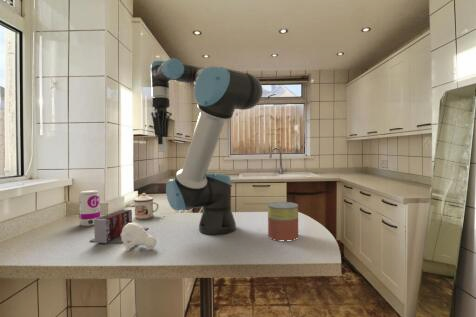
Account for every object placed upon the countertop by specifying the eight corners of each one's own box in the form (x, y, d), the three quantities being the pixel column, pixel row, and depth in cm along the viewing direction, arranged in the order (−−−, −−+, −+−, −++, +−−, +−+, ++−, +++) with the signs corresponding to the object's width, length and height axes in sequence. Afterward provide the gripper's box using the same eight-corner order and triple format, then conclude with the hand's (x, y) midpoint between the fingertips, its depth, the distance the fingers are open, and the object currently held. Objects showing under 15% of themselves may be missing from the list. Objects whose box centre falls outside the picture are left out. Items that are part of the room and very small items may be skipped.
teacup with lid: (131, 219, 130) (130, 195, 129) (139, 214, 139) (138, 192, 139) (155, 219, 129) (154, 195, 128) (162, 214, 138) (161, 192, 138)
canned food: (305, 238, 98) (304, 205, 98) (281, 244, 92) (280, 209, 92) (284, 230, 108) (284, 200, 108) (262, 235, 102) (261, 204, 102)
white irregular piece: (131, 219, 94) (161, 224, 91) (130, 243, 95) (160, 249, 92) (119, 224, 88) (150, 230, 85) (117, 249, 89) (149, 256, 85)
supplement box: (105, 219, 94) (132, 209, 109) (93, 219, 95) (121, 208, 110) (106, 244, 94) (133, 230, 110) (94, 243, 95) (122, 229, 111)
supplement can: (104, 222, 123) (103, 190, 123) (85, 227, 116) (84, 193, 116) (94, 220, 128) (93, 189, 127) (76, 224, 121) (75, 191, 120)
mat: (148, 228, 113) (148, 227, 113) (121, 243, 95) (121, 242, 95) (121, 227, 115) (121, 226, 115) (89, 241, 98) (89, 240, 98)
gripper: (159, 101, 125) (161, 151, 126) (144, 95, 112) (146, 152, 113) (174, 100, 124) (176, 151, 124) (161, 94, 111) (162, 151, 112)
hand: (161, 151), depth 119 cm, fingers closed
